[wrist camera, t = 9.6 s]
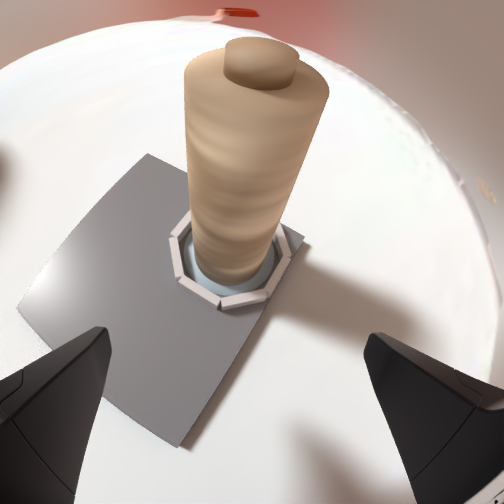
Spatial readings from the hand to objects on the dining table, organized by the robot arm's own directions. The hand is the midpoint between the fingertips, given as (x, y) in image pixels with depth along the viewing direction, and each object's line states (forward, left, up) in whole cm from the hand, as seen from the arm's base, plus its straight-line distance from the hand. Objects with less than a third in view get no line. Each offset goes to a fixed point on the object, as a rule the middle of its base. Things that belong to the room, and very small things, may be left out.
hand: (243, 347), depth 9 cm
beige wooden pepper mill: (+4, -7, -9) cm, 12 cm away
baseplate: (+8, -2, -10) cm, 13 cm away
